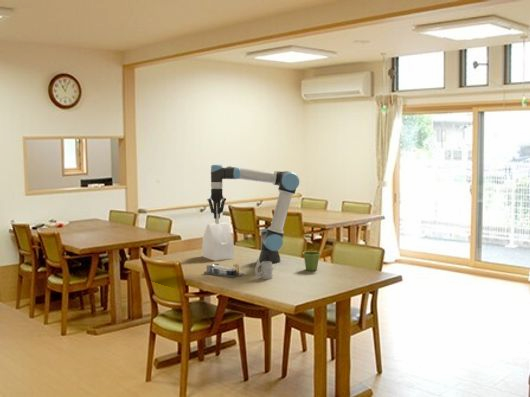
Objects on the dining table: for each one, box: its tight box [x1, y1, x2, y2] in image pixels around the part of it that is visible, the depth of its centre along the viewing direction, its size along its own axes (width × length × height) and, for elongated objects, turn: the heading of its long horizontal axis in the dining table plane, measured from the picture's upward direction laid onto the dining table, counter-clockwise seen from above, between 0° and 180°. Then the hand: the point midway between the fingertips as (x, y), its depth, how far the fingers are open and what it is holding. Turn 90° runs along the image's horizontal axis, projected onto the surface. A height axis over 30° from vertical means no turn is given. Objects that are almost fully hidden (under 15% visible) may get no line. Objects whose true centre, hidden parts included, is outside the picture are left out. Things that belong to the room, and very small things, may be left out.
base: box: [203, 263, 245, 279], centre depth 386 cm, size 24×10×7 cm, turn 57°
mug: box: [254, 259, 274, 280], centre depth 375 cm, size 8×12×12 cm, turn 116°
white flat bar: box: [210, 263, 235, 271], centre depth 387 cm, size 18×5×2 cm, turn 57°
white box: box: [201, 221, 235, 262], centre depth 439 cm, size 19×15×25 cm
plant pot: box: [302, 250, 322, 272], centre depth 399 cm, size 12×12×11 cm
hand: (216, 223), depth 405 cm, fingers closed
